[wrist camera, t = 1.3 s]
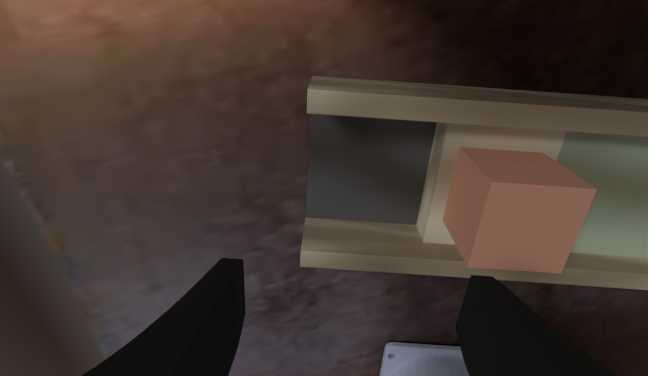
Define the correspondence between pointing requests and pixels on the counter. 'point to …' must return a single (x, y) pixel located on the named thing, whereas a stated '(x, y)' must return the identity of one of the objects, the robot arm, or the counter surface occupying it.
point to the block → (515, 210)
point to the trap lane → (438, 167)
